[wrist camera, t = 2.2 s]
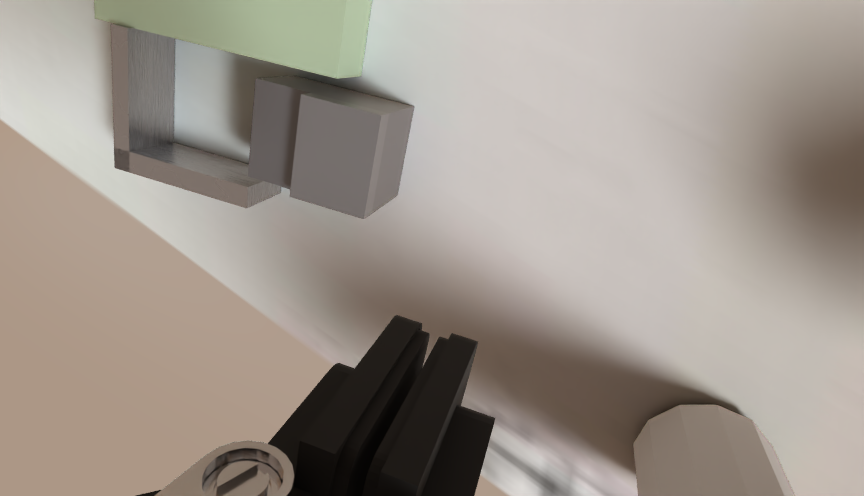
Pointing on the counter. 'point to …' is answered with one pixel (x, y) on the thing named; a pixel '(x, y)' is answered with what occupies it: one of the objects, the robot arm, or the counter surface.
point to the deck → (258, 28)
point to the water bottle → (706, 455)
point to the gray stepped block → (328, 143)
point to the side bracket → (166, 125)
